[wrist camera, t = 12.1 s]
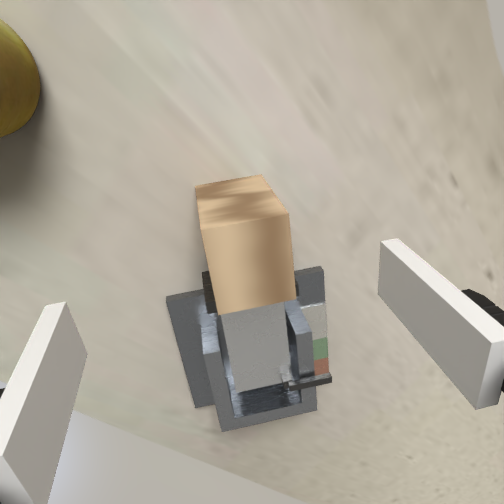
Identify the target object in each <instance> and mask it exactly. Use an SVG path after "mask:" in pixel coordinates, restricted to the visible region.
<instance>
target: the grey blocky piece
mask: <svg viewBox="0 0 504 504" xmlns="http://www.w3.org/2000/svg"><path fill="white" fill-rule="evenodd" d="M202 278H203V287H204V296H205V304H206V309H207V313H208V314H212V313H217V312H218V311H217V306H216V301H215V297H214V292H213V287H212V282H211V277H210V272H209V271H206V272H202ZM295 288H296V296H299V286H298V283H297V281H296V279H295ZM221 320H222V325H223V330H224V335H225V339H226V344H227V349H228V354H229V359H230V364H231V369H232V374H233V379H234V384H235V389H236V393H238V392H242V391H247V390H251V389H256V388H260V387H265V386H269V385H274V384H278V383H282V384H283V387H284V389H287V388H289V389H290V392H292V391H296V390H301V389H305V388H309V387H314V386H318V385H323V384H327V383H332V376H331V374H330V373H325V374H321V375H316V376H312V377H307V378H303V379H298V380H294V381H293V379H292V374H291V365H290V355H289V346H288V336H287V327H286V317H285V308H284V302H280V303H276V304H271V305H266V306H261V307H256V308H251V309H246V310H242V311H237V312H232V313H227V314H222V315H221Z"/></svg>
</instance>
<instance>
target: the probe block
mask: <svg viewBox="0 0 504 504" xmlns="http://www.w3.org/2000/svg"><path fill="white" fill-rule="evenodd" d="M195 189H196V197H197V205H198V213H199V220H200V228H201V234H202V239H203V244H204V248H205V253H206V258H207V263H208V268H209V272H210V277H211V282H212V287H213V292H214V297H215V301H216V306H217V311H218V315H222V314H227V313H232V312H237V311H242V310H246V309H251V308H256V307H261V306H266V305H271V304H276V303H280V302H285V301H290V300H295V299H296V288H295V277H294V266H293V255H292V244H291V232H290V221H289V213H288V212H287V211H286V209H285V208H284V206H283V205H282V203H281V202H280V201H279V199H278V198H277V196H276V195H275V193H274V192H273V191H272V189H271V188H270V186H269V185H268V183H267V182H266V181H265V179H264V178H263V176H262V175H255V176H249V177H243V178H238V179H232V180H226V181H221V182H215V183H209V184H203V185H198V186H195Z"/></svg>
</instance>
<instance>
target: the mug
mask: <svg viewBox="0 0 504 504" xmlns="http://www.w3.org/2000/svg"><path fill="white" fill-rule="evenodd" d="M39 95H40V78H39V73H38V69H37V66H36V63H35V61H34V59H33V56H32V54H31V52H30V51H29V49H28V47H27V46H26V44H25V43H24V42H23V40H22V39H21V38H20V37H19V36H18V35H17V33H16V32H15V31H14V30H13V29H12V28H11V27H10V26H9V25H8V24H6V23H5V22H4V21H3V20H1V19H0V138H1V137H3V136H5V135H8V134H11V133H13V132H15V131H17V130H18V129H20V128H21V127H22V126H24V125H25V124H26V123H27V121H28V120H29V119H30V118H31V117H32V115H33V113H34V111H35V109H36V107H37V104H38V99H39Z"/></svg>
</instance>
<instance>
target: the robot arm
mask: <svg viewBox="0 0 504 504" xmlns="http://www.w3.org/2000/svg"><path fill="white" fill-rule="evenodd" d="M378 295H379V296H380V297H381V298H382V300H383V301H384V302H385V303H386V304H387V306H388V307H389V308H390V309H391V310H392V311H393V313H394V314H395V315H396V316H397V317H398V319H399V320H400V321H401V322H402V323H403V324H404V326H405V327H406V328H407V329H408V330H409V332H410V333H411V334H412V335H413V336H414V337H415V339H416V340H417V341H418V342H419V343H420V345H421V346H422V347H423V348H424V349H425V350H426V352H427V353H428V354H429V355H430V356H431V358H432V359H433V360H434V361H435V362H436V363H437V365H438V366H439V367H440V368H441V369H442V371H443V372H444V373H445V374H446V375H447V376H448V378H449V379H450V380H451V381H452V382H453V384H454V385H455V386H456V387H457V388H458V389H459V391H460V392H461V393H462V394H463V395H464V397H465V398H466V399H467V400H468V401H469V402H470V404H471V405H472V406H473V407H474V408H475V410H477V409H481V408H485V407H489V406H493V405H497V404H498V402H499V398H500V395H501V391H503V392H504V311H503V310H502V309H500V308H499V307H498V306H495V304H494V303H493V302H491V301H490V300H489V299H488V298H486V297H485V296H484V295H481V294H479V293H477V292H475V291H472V290H470V289H467V290H462V291H460V290H459V289H458V288H457V287H455V286H454V285H453V284H452V283H451V282H449V281H448V280H447V279H446V278H445V277H443V276H442V275H441V274H440V273H439V272H437V271H436V270H435V269H434V268H433V267H431V266H430V265H429V264H428V263H427V262H425V261H424V260H423V259H422V258H421V257H419V256H418V255H417V254H416V253H415V252H413V251H412V250H411V249H410V248H409V247H407V246H406V245H405V244H404V243H403V242H401V241H400V240H399V239H398V238H395V239H390V240H385V241H381V243H380V262H379V280H378ZM87 355H88V354H87V351H86V349H85V346H84V344H83V342H82V339H81V337H80V334H79V332H78V330H77V327H76V325H75V322H74V320H73V318H72V315H71V313H70V310H69V308H68V306H67V303H66V302H61V303H55V304H50V305H46V306H45V308H44V310H43V312H42V314H41V316H40V318H39V320H38V322H37V324H36V326H35V328H34V330H33V332H32V334H31V336H30V339H29V341H28V343H27V345H26V347H25V349H24V351H23V353H22V355H21V357H20V359H19V361H18V363H17V365H16V367H15V370H14V372H13V374H12V376H11V378H10V380H9V382H8V384H7V386H6V388H3V389H0V504H47V503H48V499H49V495H50V492H51V488H52V484H53V481H54V477H55V473H56V469H57V466H58V462H59V458H60V454H61V451H62V447H63V444H64V440H65V436H66V432H67V429H68V425H69V421H70V417H71V414H72V410H73V406H74V403H75V399H76V395H77V392H78V388H79V384H80V380H81V377H82V373H83V369H84V366H85V362H86V358H87Z"/></svg>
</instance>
